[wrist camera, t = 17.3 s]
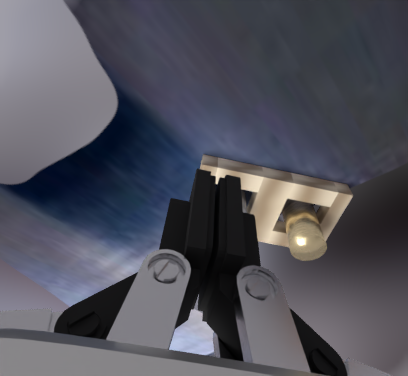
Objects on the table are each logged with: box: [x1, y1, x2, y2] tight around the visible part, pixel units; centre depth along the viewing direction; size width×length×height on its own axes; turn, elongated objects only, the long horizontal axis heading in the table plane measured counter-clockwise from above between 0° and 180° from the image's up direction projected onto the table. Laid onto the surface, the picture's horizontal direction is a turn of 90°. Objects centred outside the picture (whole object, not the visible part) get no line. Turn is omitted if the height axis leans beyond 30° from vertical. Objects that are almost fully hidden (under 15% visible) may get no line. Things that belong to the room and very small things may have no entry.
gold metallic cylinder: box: [282, 199, 327, 261], centre depth 44 cm, size 4×4×8 cm
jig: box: [200, 154, 353, 247], centre depth 44 cm, size 20×11×5 cm, turn 78°
